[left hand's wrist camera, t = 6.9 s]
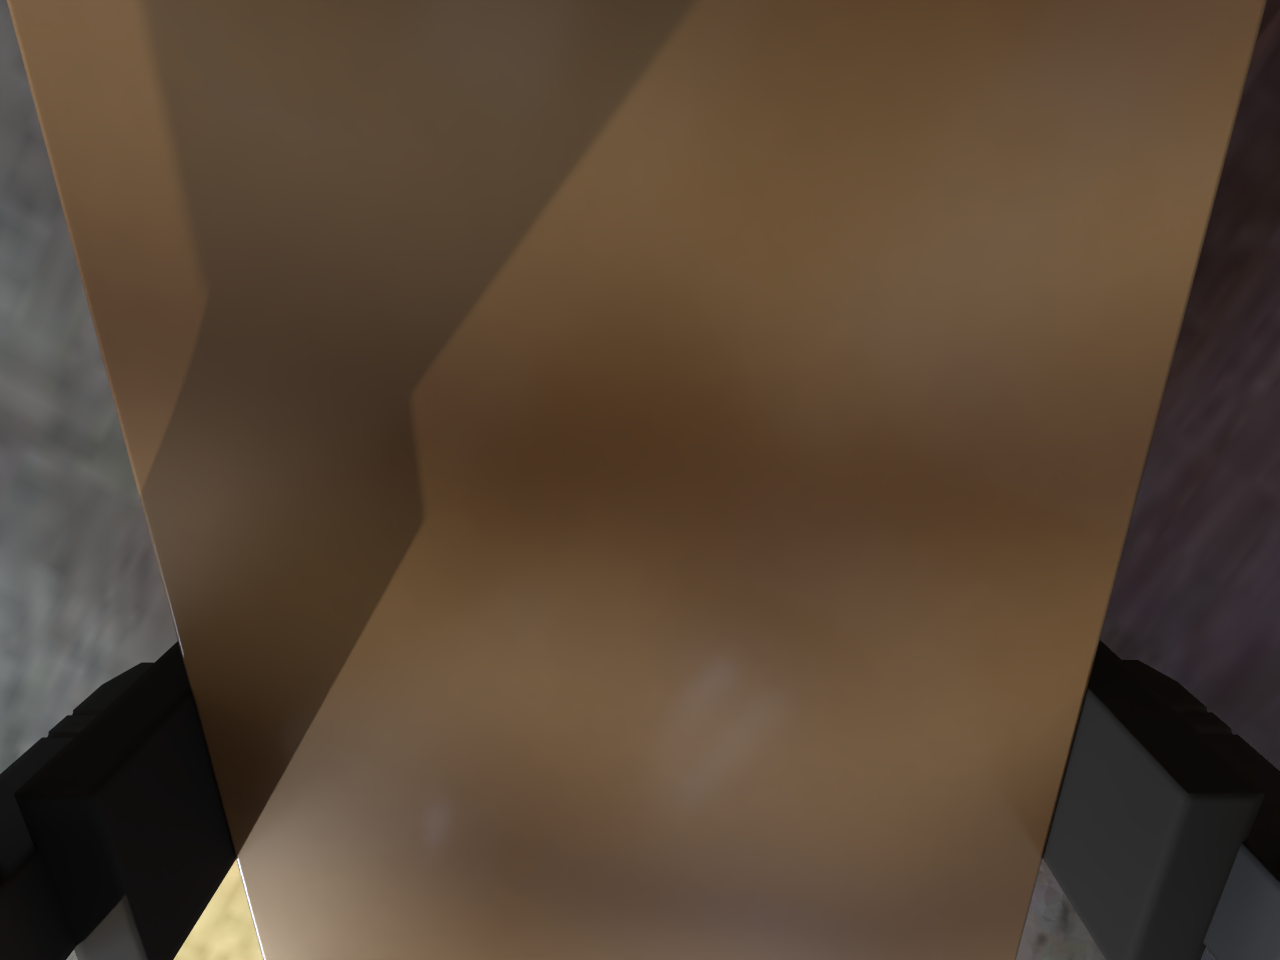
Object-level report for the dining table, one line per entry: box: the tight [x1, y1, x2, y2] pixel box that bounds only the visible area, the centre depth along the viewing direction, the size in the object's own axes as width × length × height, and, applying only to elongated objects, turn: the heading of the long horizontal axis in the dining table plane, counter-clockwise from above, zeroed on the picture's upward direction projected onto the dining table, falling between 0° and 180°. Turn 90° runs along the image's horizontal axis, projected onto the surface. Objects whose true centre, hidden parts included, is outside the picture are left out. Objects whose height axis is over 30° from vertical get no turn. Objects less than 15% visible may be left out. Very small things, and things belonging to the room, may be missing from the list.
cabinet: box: [7, 0, 1267, 960], centre depth 13 cm, size 17×11×11 cm, turn 0°
